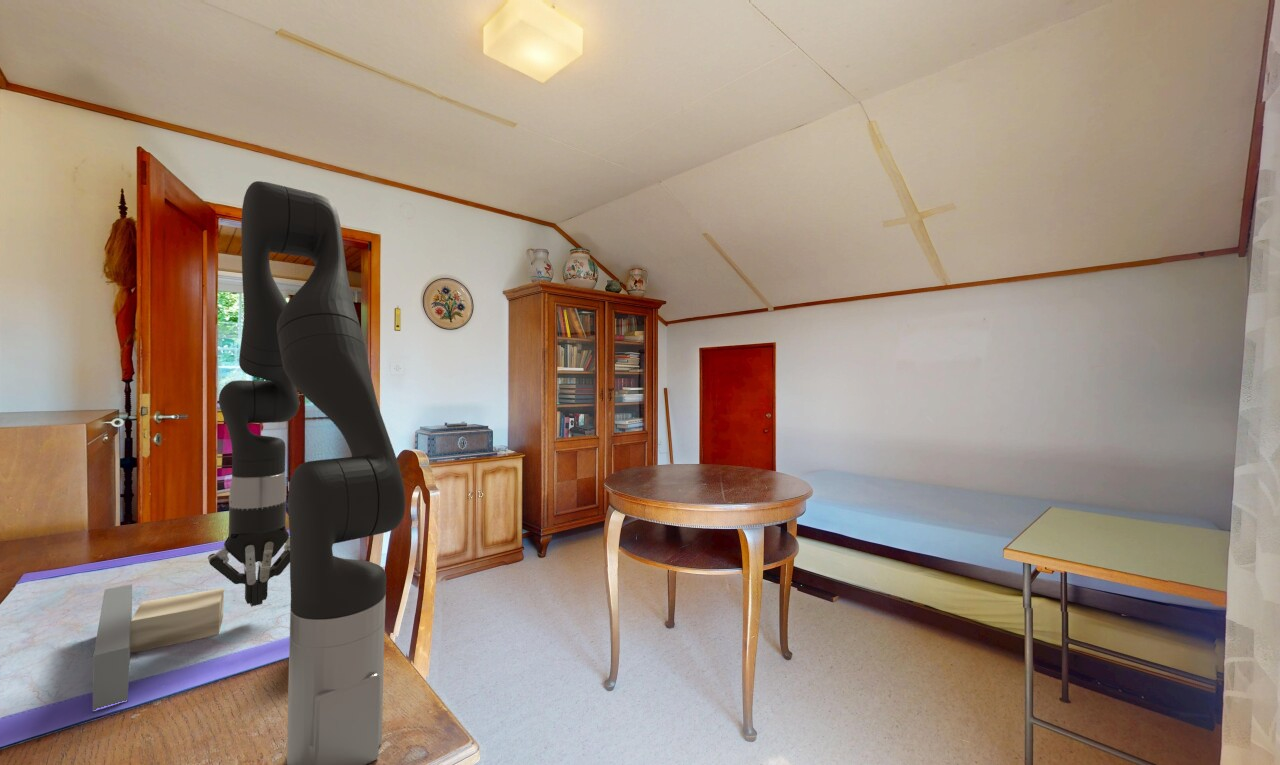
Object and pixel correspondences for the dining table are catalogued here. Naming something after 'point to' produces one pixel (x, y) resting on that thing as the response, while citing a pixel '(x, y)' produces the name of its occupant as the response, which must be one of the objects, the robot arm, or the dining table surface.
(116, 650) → the grey block
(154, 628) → the birch block
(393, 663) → the dining table surface
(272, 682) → the dining table surface
